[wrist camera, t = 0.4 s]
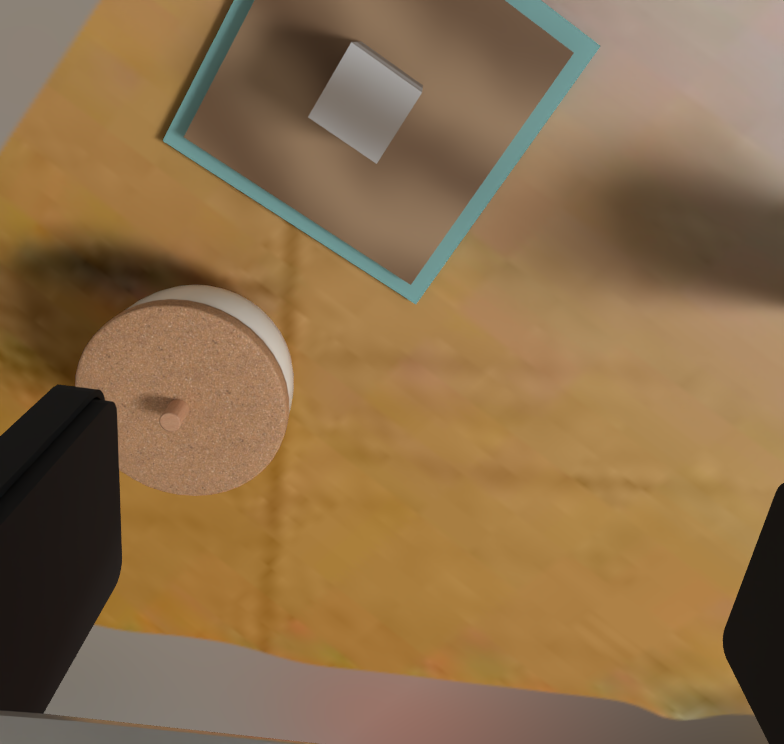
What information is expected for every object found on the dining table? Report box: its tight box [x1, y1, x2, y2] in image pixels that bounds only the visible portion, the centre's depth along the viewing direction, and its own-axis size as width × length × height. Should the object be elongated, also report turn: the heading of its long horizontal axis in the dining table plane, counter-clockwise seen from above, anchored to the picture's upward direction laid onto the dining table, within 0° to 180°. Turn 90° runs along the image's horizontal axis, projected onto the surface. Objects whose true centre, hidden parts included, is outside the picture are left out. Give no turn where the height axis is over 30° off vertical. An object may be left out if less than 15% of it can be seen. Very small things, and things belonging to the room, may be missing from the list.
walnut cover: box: [184, 0, 574, 285], centre depth 35 cm, size 14×14×6 cm
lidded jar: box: [75, 285, 294, 496], centre depth 40 cm, size 11×11×9 cm
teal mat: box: [163, 0, 600, 304], centre depth 38 cm, size 16×16×1 cm
